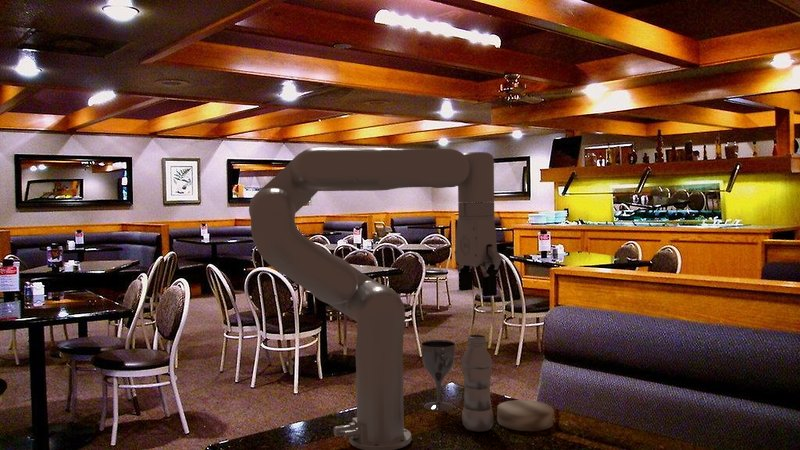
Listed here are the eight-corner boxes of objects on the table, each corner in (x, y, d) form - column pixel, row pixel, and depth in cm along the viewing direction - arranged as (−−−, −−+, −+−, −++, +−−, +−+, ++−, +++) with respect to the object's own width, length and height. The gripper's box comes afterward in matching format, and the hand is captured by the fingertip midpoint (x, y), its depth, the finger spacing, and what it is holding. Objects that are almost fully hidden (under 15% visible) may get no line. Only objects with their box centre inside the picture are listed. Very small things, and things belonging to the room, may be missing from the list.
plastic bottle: (483, 437, 137) (483, 340, 136) (455, 431, 141) (455, 337, 140) (499, 428, 142) (498, 335, 141) (471, 422, 146) (471, 331, 145)
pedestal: (517, 434, 139) (517, 420, 138) (487, 417, 150) (487, 404, 149) (564, 426, 143) (564, 412, 143) (532, 410, 154) (531, 397, 154)
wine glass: (415, 407, 157) (414, 344, 157) (434, 399, 164) (433, 338, 163) (443, 413, 152) (442, 348, 152) (462, 405, 159) (461, 342, 158)
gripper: (441, 211, 146) (442, 289, 147) (482, 212, 130) (483, 299, 131) (471, 210, 149) (472, 287, 150) (514, 211, 134) (515, 296, 134)
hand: (477, 292), depth 141 cm, fingers open, 9 cm apart
